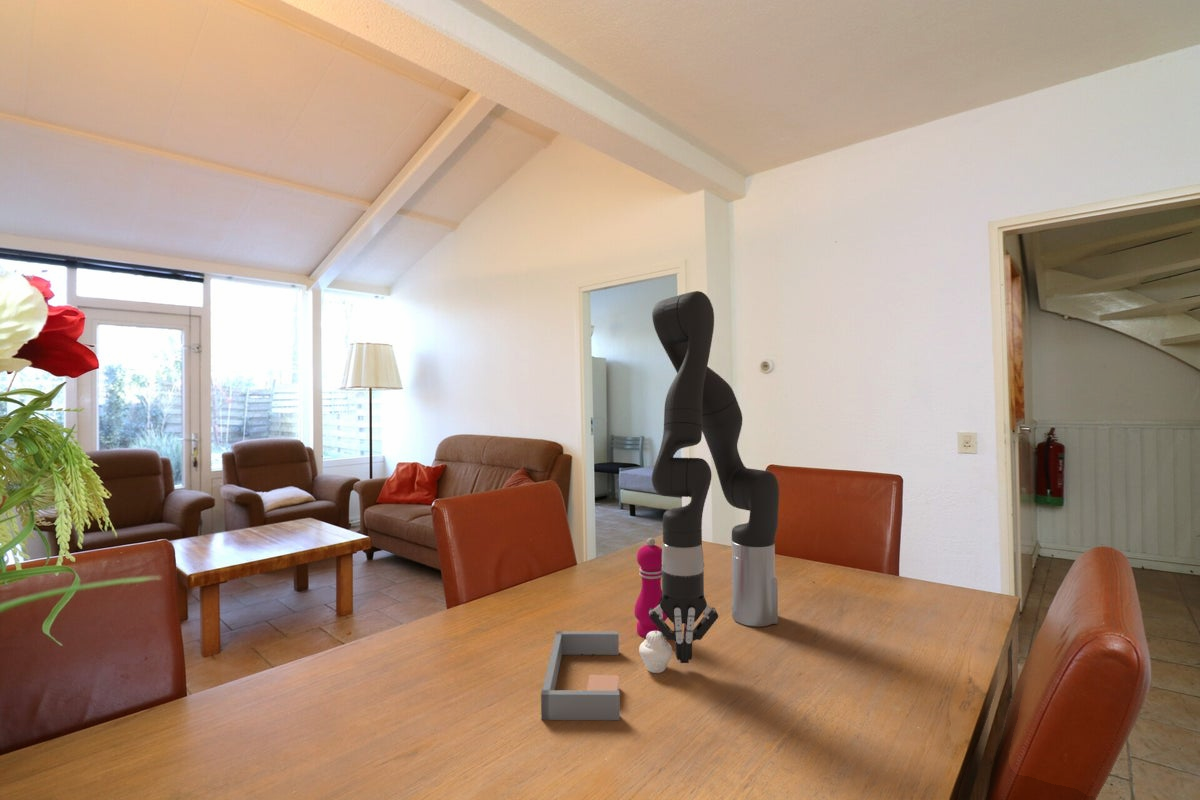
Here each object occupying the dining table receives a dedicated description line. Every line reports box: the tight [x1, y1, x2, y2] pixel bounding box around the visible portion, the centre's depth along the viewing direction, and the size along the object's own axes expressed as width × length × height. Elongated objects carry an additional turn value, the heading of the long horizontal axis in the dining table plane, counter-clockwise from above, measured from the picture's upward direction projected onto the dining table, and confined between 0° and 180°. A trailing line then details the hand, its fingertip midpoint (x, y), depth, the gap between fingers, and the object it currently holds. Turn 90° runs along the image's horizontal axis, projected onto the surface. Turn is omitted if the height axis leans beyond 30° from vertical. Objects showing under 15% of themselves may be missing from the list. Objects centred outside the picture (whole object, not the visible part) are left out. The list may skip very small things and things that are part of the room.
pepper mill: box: [633, 537, 669, 639], centre depth 117 cm, size 7×7×20 cm
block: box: [586, 674, 620, 692], centre depth 94 cm, size 5×5×2 cm
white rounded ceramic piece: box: [638, 631, 674, 674], centre depth 102 cm, size 6×6×7 cm
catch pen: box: [540, 630, 621, 721], centre depth 98 cm, size 12×22×4 cm, turn 178°
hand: (683, 661), depth 102 cm, fingers closed
